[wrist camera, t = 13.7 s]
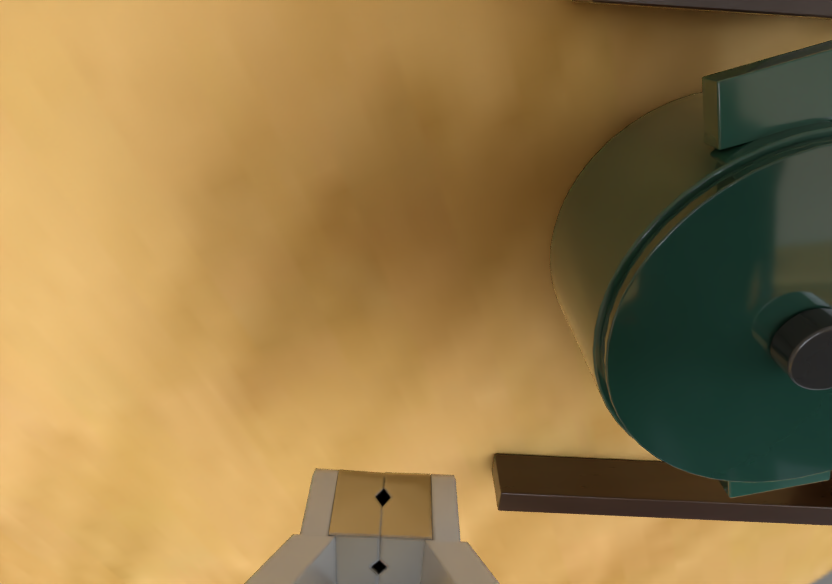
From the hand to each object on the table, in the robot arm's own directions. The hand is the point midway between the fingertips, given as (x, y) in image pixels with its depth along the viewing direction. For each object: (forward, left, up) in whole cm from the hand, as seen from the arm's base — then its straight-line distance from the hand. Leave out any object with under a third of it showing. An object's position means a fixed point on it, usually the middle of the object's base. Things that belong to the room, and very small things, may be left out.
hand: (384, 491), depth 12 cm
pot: (-1, +12, -12) cm, 17 cm away
